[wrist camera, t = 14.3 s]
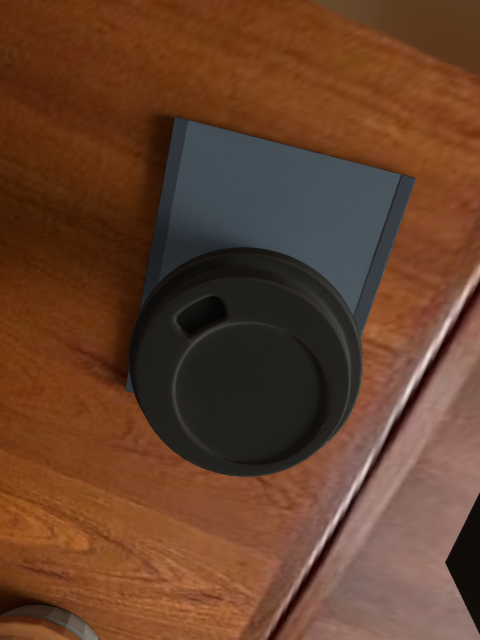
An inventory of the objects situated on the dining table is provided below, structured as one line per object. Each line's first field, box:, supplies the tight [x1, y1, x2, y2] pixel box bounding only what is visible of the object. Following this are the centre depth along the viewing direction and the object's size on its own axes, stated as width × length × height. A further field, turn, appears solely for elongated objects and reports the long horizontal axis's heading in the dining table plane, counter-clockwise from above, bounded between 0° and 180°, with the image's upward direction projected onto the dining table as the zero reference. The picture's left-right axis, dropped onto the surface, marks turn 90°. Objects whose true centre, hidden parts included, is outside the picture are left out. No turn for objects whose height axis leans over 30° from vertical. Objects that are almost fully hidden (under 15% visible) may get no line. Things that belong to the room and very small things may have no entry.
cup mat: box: [125, 117, 416, 393], centre depth 30 cm, size 20×16×1 cm
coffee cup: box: [128, 247, 363, 477], centre depth 22 cm, size 9×9×15 cm
